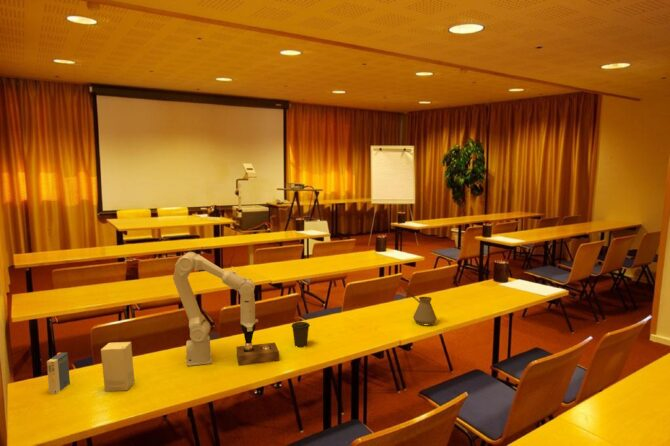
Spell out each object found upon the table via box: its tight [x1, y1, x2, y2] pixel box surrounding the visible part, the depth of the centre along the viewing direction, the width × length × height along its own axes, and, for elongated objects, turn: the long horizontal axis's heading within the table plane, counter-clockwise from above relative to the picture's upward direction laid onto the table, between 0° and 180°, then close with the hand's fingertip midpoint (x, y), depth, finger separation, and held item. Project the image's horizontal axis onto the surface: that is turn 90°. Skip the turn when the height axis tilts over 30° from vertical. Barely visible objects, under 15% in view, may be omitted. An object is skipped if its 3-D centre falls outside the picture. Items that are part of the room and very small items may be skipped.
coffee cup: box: [291, 321, 311, 348], centre depth 199 cm, size 8×8×10 cm
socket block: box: [236, 342, 280, 367], centre depth 185 cm, size 16×10×4 cm, turn 106°
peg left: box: [244, 341, 253, 352], centre depth 184 cm, size 3×3×4 cm
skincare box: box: [100, 341, 135, 392], centre depth 160 cm, size 8×7×16 cm
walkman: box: [46, 352, 71, 395], centre depth 159 cm, size 8×3×12 cm, turn 0°
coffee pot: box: [401, 287, 437, 325], centre depth 231 cm, size 21×12×15 cm, turn 37°
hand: (248, 342), depth 183 cm, fingers closed
